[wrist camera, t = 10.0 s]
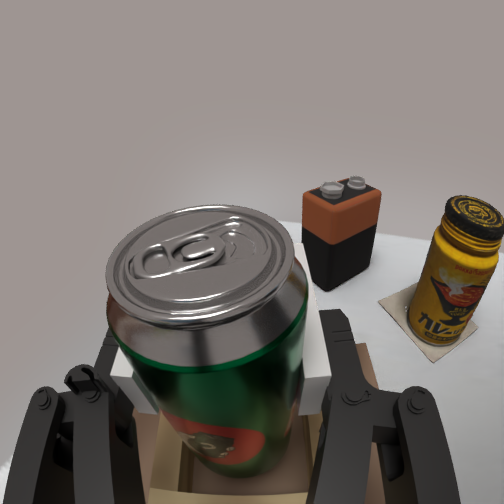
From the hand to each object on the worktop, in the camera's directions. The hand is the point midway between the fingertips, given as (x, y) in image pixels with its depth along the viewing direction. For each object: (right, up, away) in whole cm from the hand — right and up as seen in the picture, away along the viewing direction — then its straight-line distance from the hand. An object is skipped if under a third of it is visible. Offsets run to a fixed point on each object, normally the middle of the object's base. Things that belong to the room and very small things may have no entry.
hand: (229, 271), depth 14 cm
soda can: (0, -9, 0) cm, 9 cm away
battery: (+10, -1, +18) cm, 20 cm away
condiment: (+18, -5, +11) cm, 22 cm away
